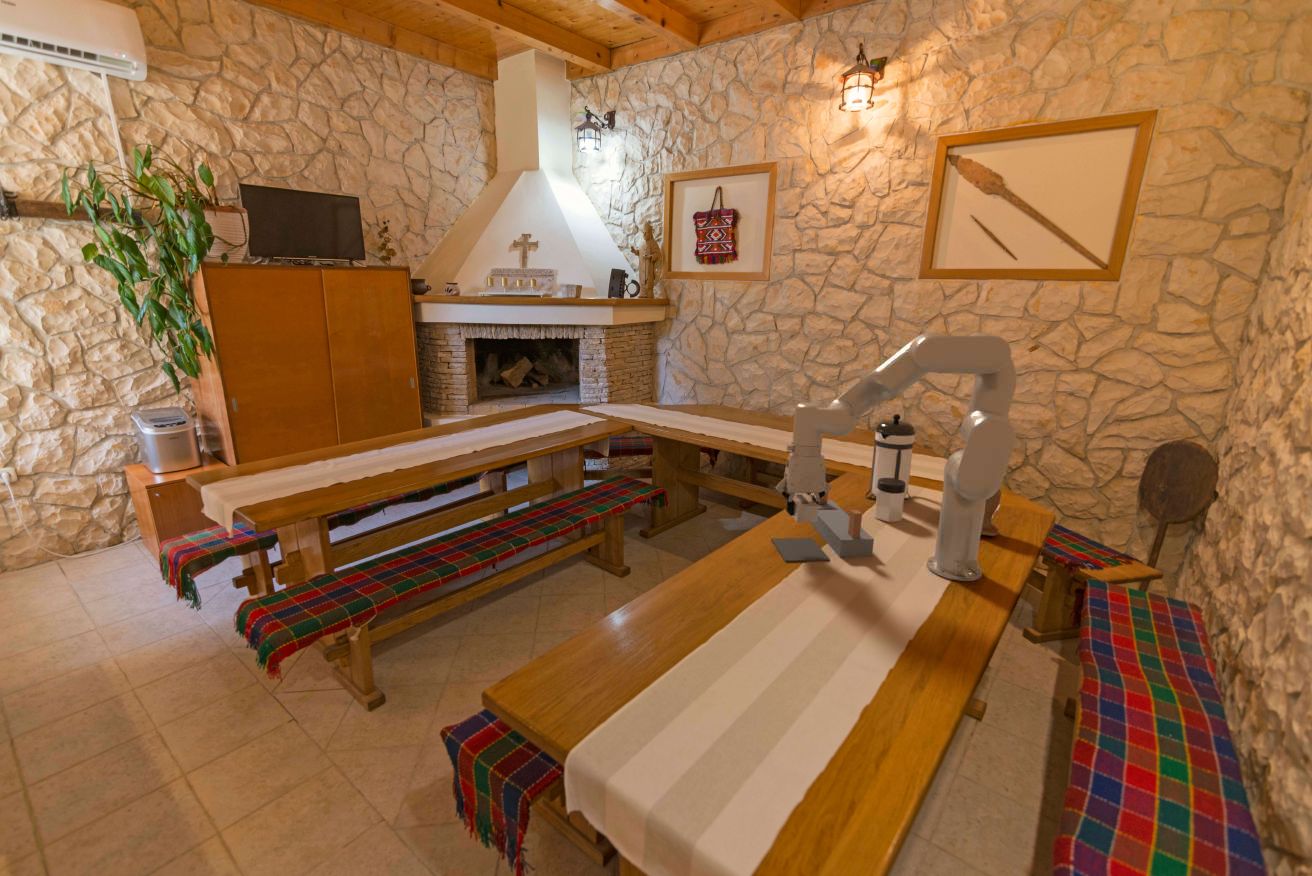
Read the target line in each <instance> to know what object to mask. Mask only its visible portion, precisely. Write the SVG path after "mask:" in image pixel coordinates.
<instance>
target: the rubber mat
mask: <svg viewBox="0 0 1312 876" xmlns="http://www.w3.org/2000/svg"><path fill="white" fill-rule="evenodd" d="M770 540H771V542H772V544H773V545H774V547H775V548H776V550H777V552H778V554H780V556H781V557H782V560H783V561H784V562H785V563H801V562H802V563H804V562H805V563H806V562H830V561H831V558H830V557H829V556H828V555H827V553H825V552H824V550H823V549H822V548H821V547H820V545H819V544H818V543H817V542H816V540H815V539H814V538H813V537H811V536H810V537H777V538H776V537H774V538H770Z"/></svg>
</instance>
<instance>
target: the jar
mask: <svg viewBox="0 0 1312 876" xmlns="http://www.w3.org/2000/svg"><path fill="white" fill-rule="evenodd" d="M905 485H906V483H905V482H904V481H902V480H899V479H895V478H880V479H879V480H878V485H877V496H875V505H874V518H875V519H876V520H877V519H878V520H881V521H883V522H886V523H894V522H902V516H903V511H904V503H905V497H904V495H905V493H904V491H905Z"/></svg>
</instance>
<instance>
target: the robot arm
mask: <svg viewBox="0 0 1312 876" xmlns="http://www.w3.org/2000/svg"><path fill="white" fill-rule="evenodd" d="M929 373H934V374H956V375H957V374H959V375H960V374H961V375H963V374H964V375H973V376H974V378H973V379H974V382H973V387H972V393H971V396H970V400H969V402H968V405H967V409H966V412H965V414H964V417H963V419H962V423H961V426H960V434H961V436H962V438H963V440H964V441H965V446H964V449H960V450H957V451H955V452H954V453H952V454H950V456H949V457H948V458H947V460H946V463H945V465H944V469H943V486H942V487H943V489H942V501H941V507H940V513H939V520H938V526H937V527H938V528H937V535H936V543H935V549H934V555H932V556H930V557H928V558H927V560H926V567H927V568H928V569H929V571H931V572H933V573H934V574H936V575H938V576H940V577H943V578H945V579H949V580H953V581H959V582H960V581H961V582H973V581H977V580H979V579H981V578H982V576H983V571H982V569H981V567H980V566H979V561H977V560H978V556H979V547H980V541H981V530H982V524H983V517H984V512H985V504H986V499H989V498H990V497H992V496H993V495H994V494H995V493H996V492H997V491H998V489H1000V488H1001V485H1002V482H1003V480H1004V477H1005V475H1006V472H1007V469H1008V467H1009V465H1010V460H1011V458H1012V455H1013V452H1014V450H1015V449H1014V448H1015V445H1016V430H1015V428H1014V426H1013V425H1012V423H1011V422H1010V421H1009V420H1008V417H1009V413H1010V410H1011V407H1012V404H1013V400H1014V397H1015V391H1016V388H1017V378H1018V377H1017V369H1016V366H1015V364H1014V361H1013V359H1012V349H1011V345H1010V344H1009V342H1008V341H1007V340H1005V338H1003V337H1001V336H998V335H996V334H991V333H988V332H974V333H972V334H970V335H943V334H942V335H939V334H937V333H933V332H925V333H922V334H919V335H918V336H917V337H915V338H913V339H912V340H910V342H908V343H907V344H906V345H904V346H903V347H902V348H901V349H900V350H898V351H896V352H895V354H893V355H892V356H890V358H888V359H887V360H885V361H884V362H883V363H882V364H880V365H879V366H878V367H877V368H875V369H874V370H873V371H871V372H870V373H868V374H867V375H866V376H865V377H864V378H862V379H861V380H859V381H858V382H856V383H854V385H853V386H850V388H848V389H847V390H846V391H845V392H843V393H842V394H841V395H840V396H838V397H837V398H835V399H834V400H833V401H832V402H831V403H830V404H829V405H828V406H827V407H824V405H822V404H820V403H816V402H800V403H798V404H797V405H796V406H795V408H794V409H795V410H794V418H793V433H792V442H791V444H790V445H786V450H787V451H789V454H788V457H787V461H786V465H785V469H784V470H785V471H784V476H783V478H782V480H780V481H779V482H778V483H777V485H776V486H775V490H776V491H777V492H779V494H781V495H782V496H783V497H784V499H787V501H786V502H785V511H786V512H787V514H788V515H789V516H790V517H792V516H793V510H794V502H793V498H794V496H795V493H807V494H811V498H812V499H813V500H814V501H815V502H816V504H817V505H818V502H819V501H820V499H821V498H822V497H823V496H824V495H825V493H827V492H828V493H829V492H830V491H831V490H832V487H831V485H830V484H829V482H828V481H826V460H825V455H823V454H822V449H823V436H824V434H826V435H831V436H834V437H835V436H836V437H845V436H848V435H849V434H852V432H853V431H854V429H855V426H856V423H857V422H856V420H857V419H858V418H859V417H861V416H862V415H863V414H865V413H866V412H867V411H869V410H870V409H871V408H873V407H874V406H876V405H878V404H880V403H882V402H885V401H890V400H893V399H895V398H897V397H898V396H900V395H902V394H903V393H904V392H906V391H907V390H908V389H909V388H911V386H913V385H915V383H917V382H918V381H920V380H921V379H922V378H923V377H925V376H927V374H929ZM784 487H785V488H786V490H787V491H786V490H785V489H784Z"/></svg>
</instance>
